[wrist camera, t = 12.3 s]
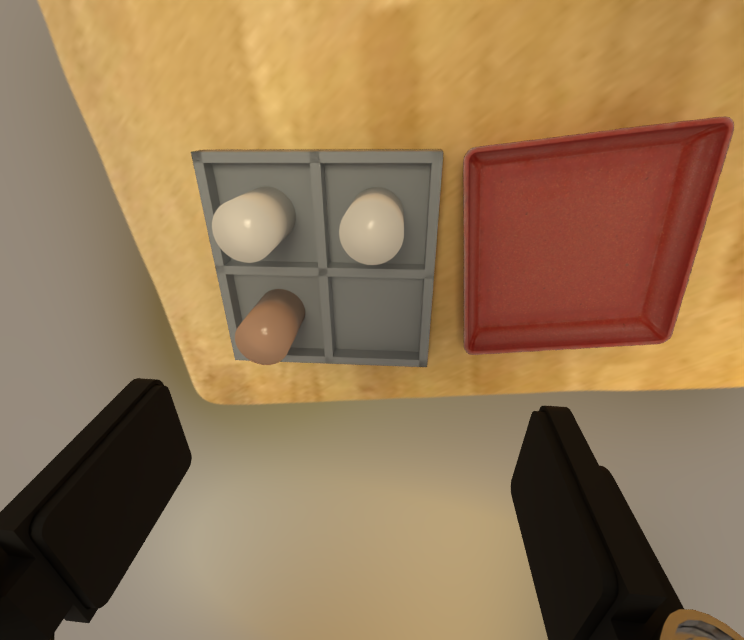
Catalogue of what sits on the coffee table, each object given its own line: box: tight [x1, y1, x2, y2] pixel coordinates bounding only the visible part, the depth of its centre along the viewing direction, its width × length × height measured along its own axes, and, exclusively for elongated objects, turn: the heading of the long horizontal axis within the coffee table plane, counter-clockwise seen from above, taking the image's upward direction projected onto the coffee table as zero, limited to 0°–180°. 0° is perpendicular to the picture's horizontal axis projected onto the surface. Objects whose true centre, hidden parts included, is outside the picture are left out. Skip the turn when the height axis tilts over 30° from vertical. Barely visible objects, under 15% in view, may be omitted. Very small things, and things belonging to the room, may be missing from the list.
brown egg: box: [235, 289, 305, 365], centre depth 34 cm, size 5×5×6 cm
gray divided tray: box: [191, 149, 443, 367], centre depth 34 cm, size 19×19×2 cm
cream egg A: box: [212, 186, 296, 263], centre depth 30 cm, size 5×5×6 cm
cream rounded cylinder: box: [339, 187, 404, 265], centre depth 29 cm, size 5×5×6 cm
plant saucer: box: [463, 117, 734, 355], centre depth 32 cm, size 18×18×3 cm
